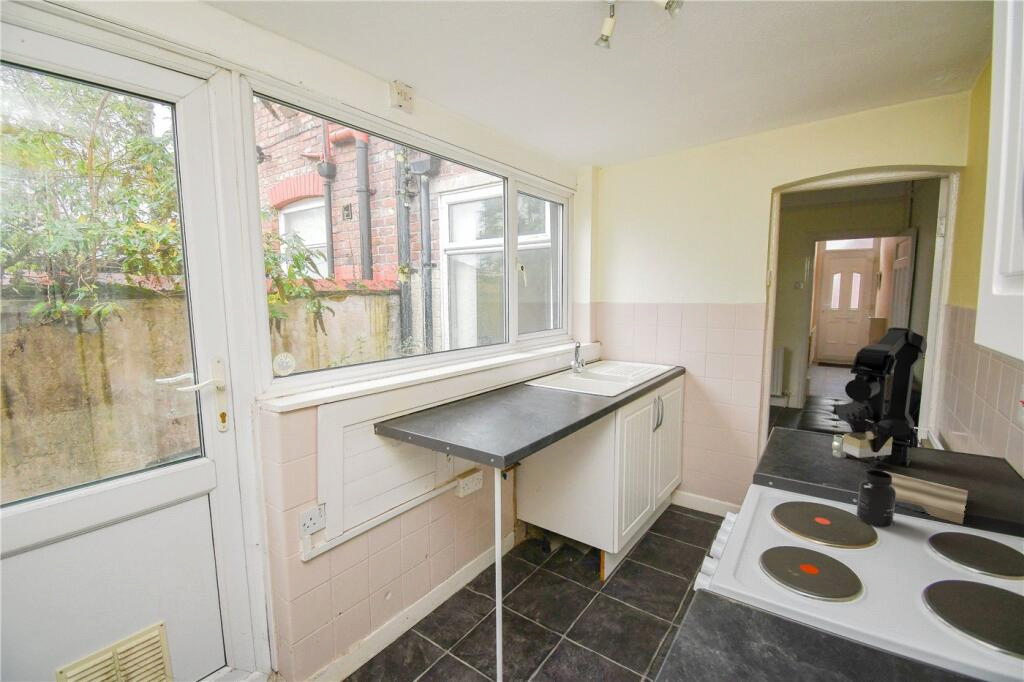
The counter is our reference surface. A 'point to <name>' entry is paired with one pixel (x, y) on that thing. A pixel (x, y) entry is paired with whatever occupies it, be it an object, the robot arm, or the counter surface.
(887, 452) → the housing
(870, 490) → the supplement bottle
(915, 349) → the robot arm
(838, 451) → the valve
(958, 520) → the crown molding piece
